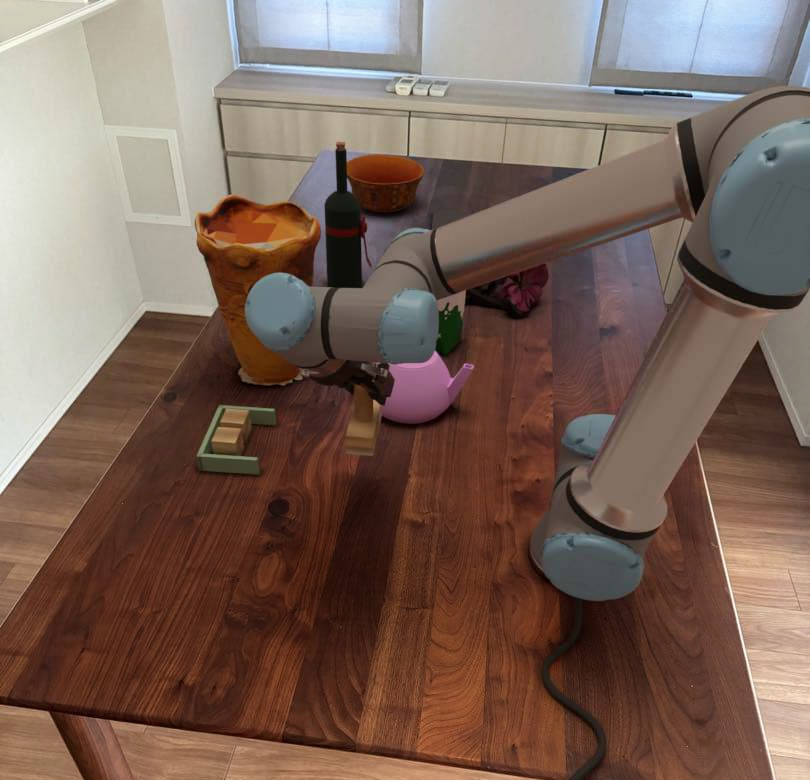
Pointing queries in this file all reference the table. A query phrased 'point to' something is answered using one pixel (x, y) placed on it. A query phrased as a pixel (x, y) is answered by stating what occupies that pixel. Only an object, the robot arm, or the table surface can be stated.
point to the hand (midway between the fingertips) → (373, 394)
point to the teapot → (422, 390)
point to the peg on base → (363, 423)
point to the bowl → (384, 181)
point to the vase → (255, 270)
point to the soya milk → (450, 322)
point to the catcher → (226, 461)
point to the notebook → (448, 216)
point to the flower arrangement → (512, 291)
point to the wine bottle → (344, 231)
